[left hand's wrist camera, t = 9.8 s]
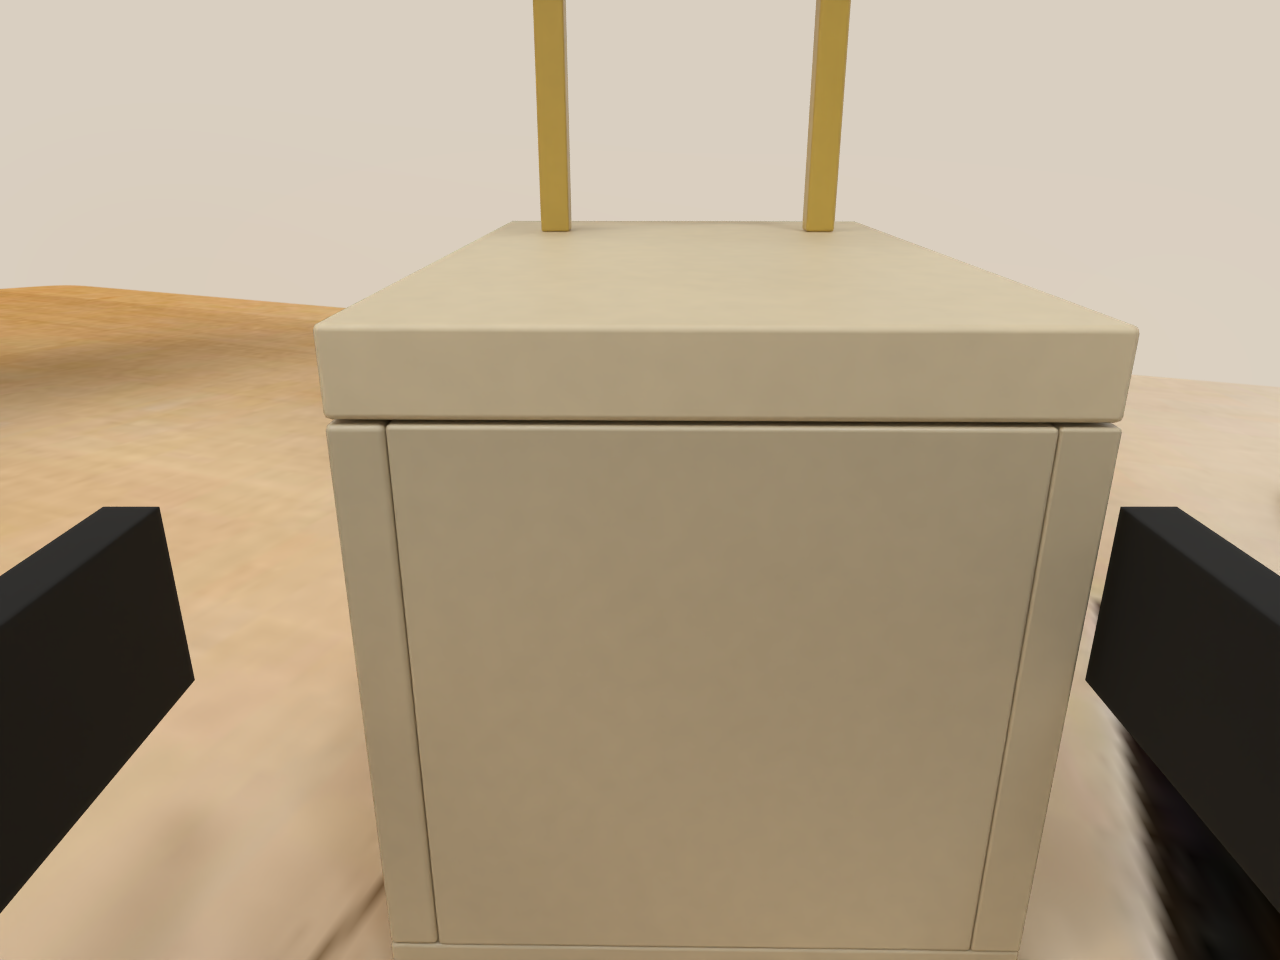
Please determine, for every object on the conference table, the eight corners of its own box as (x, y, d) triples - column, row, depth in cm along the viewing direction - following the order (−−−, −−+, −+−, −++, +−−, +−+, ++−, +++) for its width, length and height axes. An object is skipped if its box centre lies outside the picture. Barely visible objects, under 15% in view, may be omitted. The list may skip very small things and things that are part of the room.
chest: (523, 565, 29) (508, 269, 25) (833, 567, 29) (858, 269, 25) (394, 981, 14) (321, 424, 11) (1013, 989, 14) (1124, 428, 11)
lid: (512, 264, 26) (496, -61, 23) (853, 264, 26) (880, -62, 23) (321, 421, 11) (209, -437, 8) (1124, 425, 11) (1299, -446, 8)
